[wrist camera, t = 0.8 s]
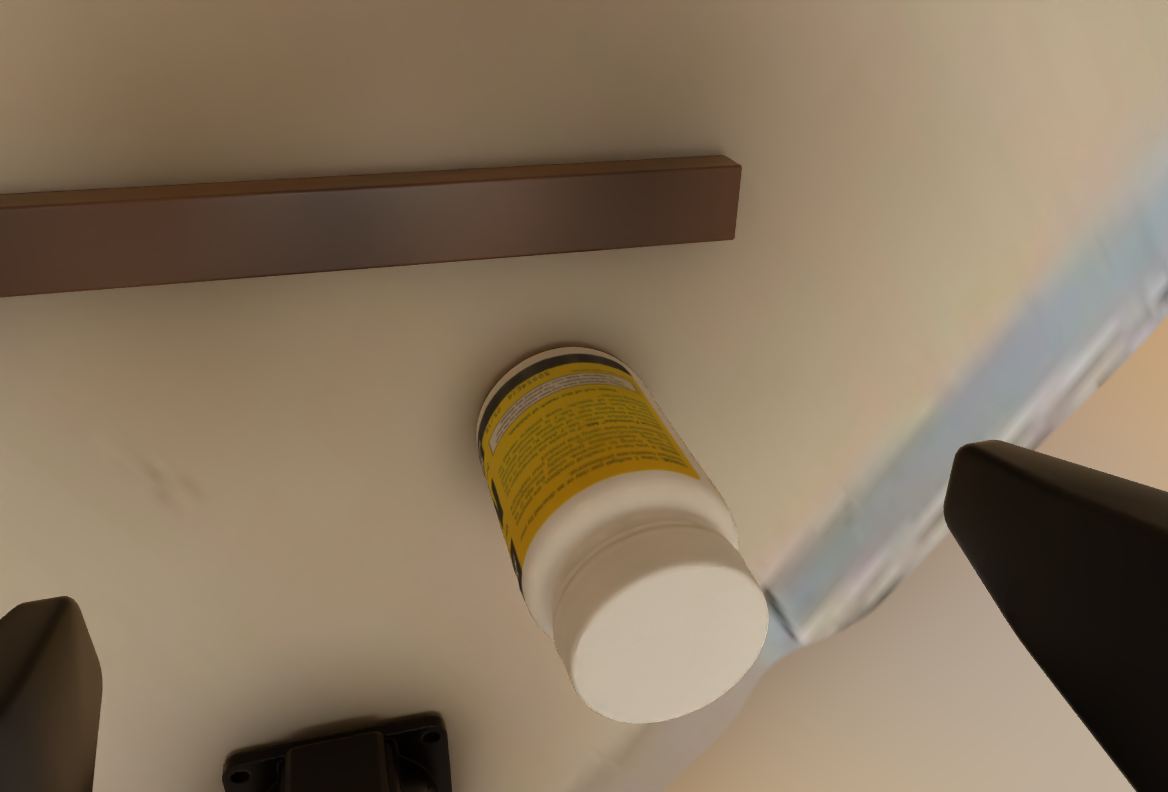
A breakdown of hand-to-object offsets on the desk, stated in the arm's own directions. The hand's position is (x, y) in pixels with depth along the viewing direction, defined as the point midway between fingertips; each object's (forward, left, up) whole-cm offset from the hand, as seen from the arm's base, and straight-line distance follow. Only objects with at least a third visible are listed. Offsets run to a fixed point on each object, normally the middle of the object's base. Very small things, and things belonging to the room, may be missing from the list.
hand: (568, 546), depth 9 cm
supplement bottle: (-6, -3, -13) cm, 15 cm away
